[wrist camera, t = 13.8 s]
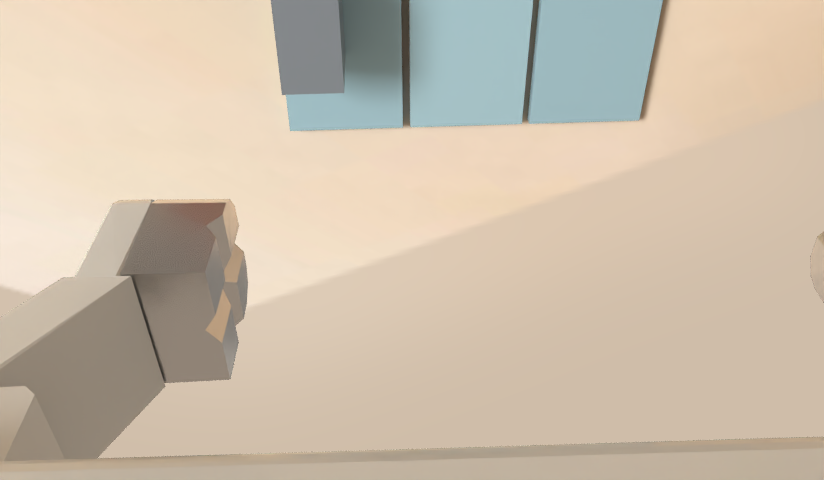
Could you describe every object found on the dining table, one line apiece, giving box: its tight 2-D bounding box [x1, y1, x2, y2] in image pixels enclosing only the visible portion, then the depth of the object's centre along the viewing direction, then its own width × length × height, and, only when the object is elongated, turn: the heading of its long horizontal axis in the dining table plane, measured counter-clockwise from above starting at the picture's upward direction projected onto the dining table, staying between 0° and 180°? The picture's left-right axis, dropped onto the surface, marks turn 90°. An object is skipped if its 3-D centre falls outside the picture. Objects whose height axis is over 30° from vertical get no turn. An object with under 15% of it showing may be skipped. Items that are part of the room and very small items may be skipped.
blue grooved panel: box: [271, 0, 663, 131], centre depth 30 cm, size 16×11×4 cm
